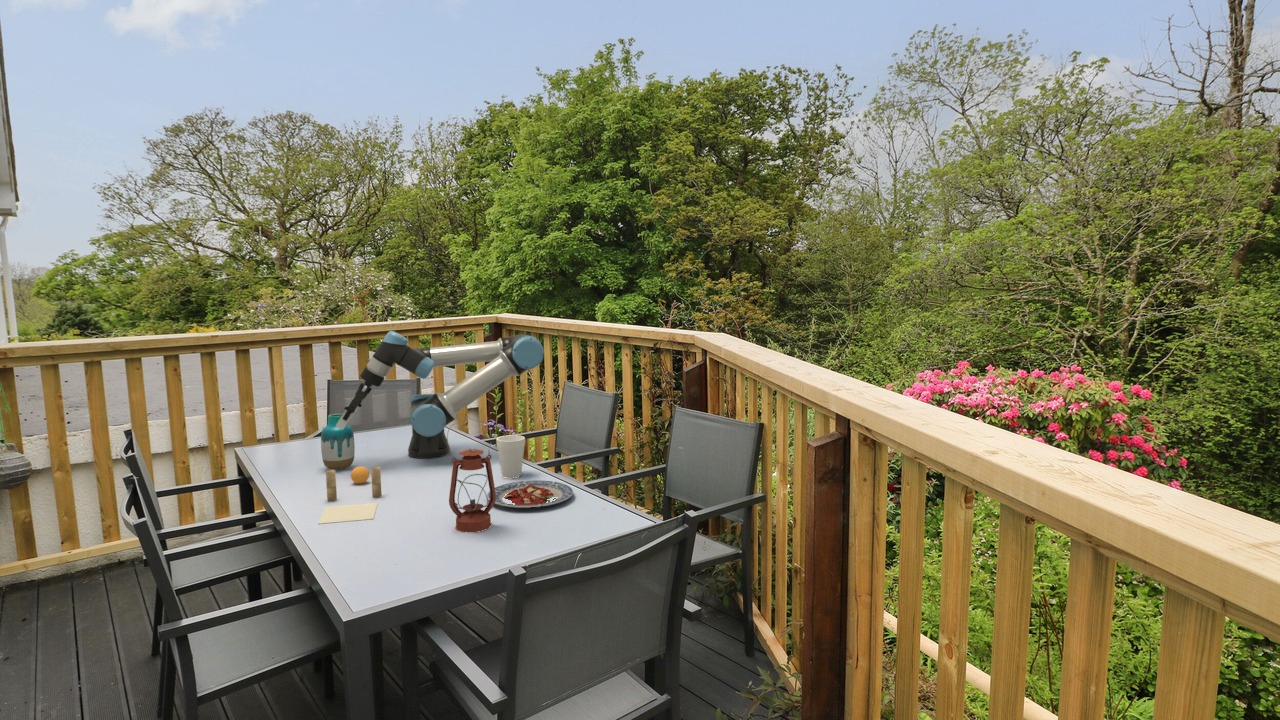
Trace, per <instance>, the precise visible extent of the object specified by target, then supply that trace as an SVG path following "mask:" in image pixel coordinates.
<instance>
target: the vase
mask: <svg viewBox="0 0 1280 720" xmlns="http://www.w3.org/2000/svg"><path fill="white" fill-rule="evenodd" d="M342 415H343V413H332V414H329V415H327V424H326V426H325V427H323V428H322V429H321V434H320V435H321V436H320V445H321V446H320V448H321V449H320V451H321V458H322V459H321V460H322V463H323V464H324V466H325V467H326V468H327V469H328V470H335V471H338V470H345V469H347V468H349V467H350V466H352V465H353V463H354V460H355V453H356V452H355V448H356V447H355V435H354V431H353V427H352V426H351V425H349V424H348V423H347V424H346V426H345V427H344V429H343V430H342V429H340V428H338V427H336V424H337V423H338V421H339V420H340V418H341V416H342Z"/></svg>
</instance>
